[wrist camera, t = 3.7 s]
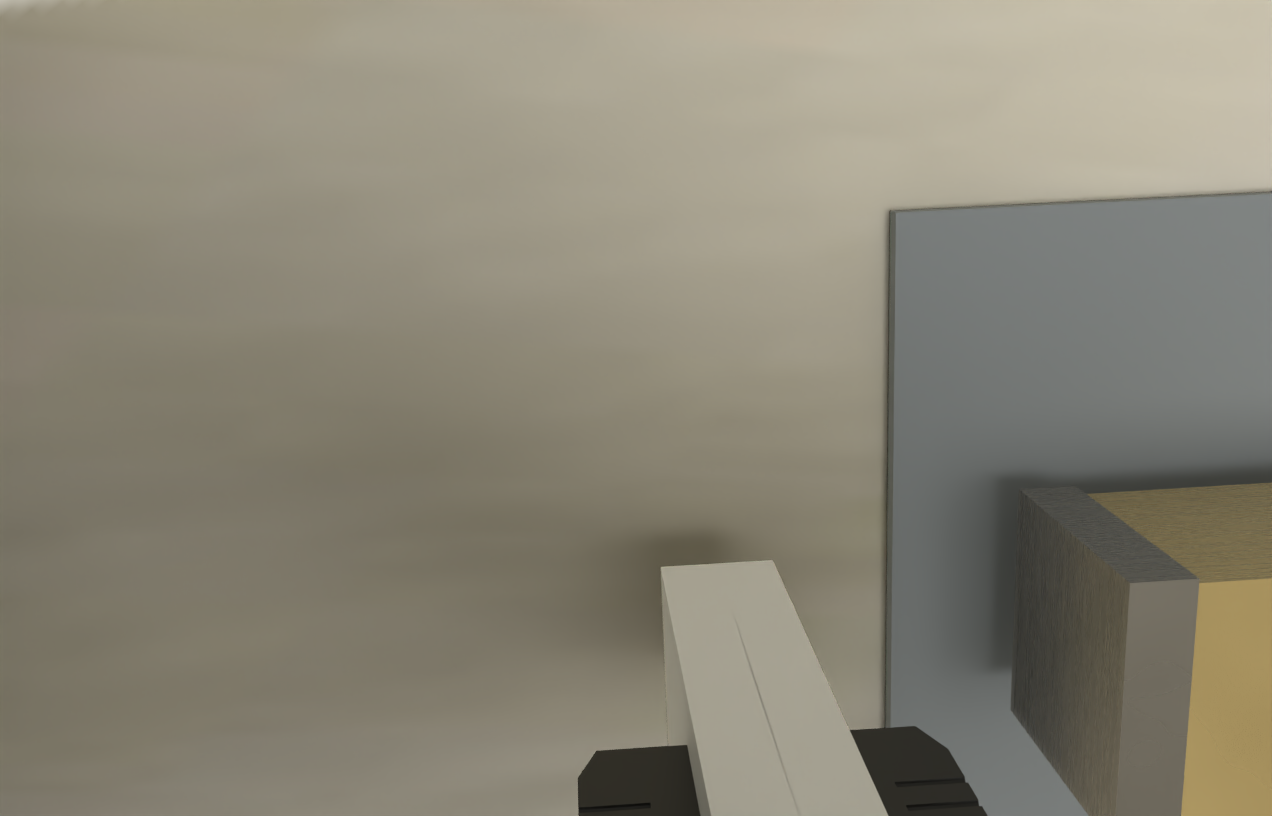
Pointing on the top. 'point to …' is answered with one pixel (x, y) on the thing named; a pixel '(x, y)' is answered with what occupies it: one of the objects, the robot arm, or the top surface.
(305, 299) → the top surface
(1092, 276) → the mat
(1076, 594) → the rod
